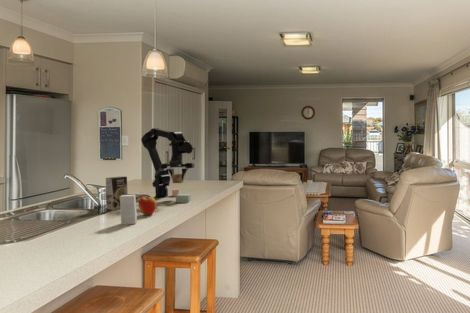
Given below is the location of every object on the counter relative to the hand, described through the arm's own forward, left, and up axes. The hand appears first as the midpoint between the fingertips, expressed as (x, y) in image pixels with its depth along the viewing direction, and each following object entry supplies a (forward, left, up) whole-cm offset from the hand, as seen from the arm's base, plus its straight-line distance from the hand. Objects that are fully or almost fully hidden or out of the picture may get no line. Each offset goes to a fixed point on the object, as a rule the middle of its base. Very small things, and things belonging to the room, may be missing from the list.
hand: (178, 180), depth 260 cm
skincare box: (-1, -70, -11) cm, 71 cm away
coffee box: (-23, -32, -11) cm, 41 cm away
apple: (0, -50, -11) cm, 51 cm away
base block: (+6, -11, -11) cm, 16 cm away
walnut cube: (0, 0, -1) cm, 1 cm away
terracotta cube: (-5, +11, -10) cm, 16 cm away
